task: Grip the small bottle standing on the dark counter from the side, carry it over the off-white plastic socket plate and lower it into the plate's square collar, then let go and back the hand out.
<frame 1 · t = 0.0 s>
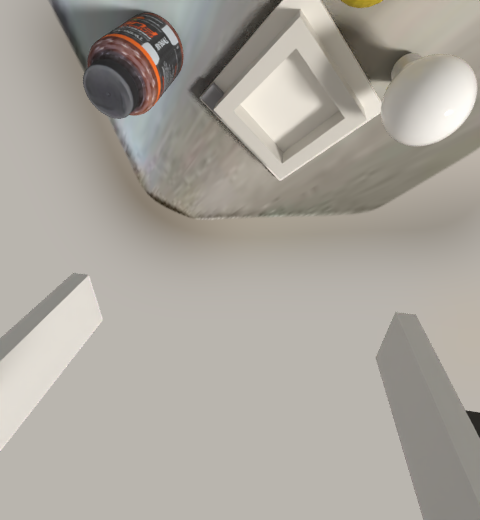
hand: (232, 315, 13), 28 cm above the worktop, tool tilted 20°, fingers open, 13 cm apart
socket: (289, 99, 31), on the worktop
lightbulb: (405, 66, 28), on the worktop
supplement bottle: (157, 47, 30), on the worktop
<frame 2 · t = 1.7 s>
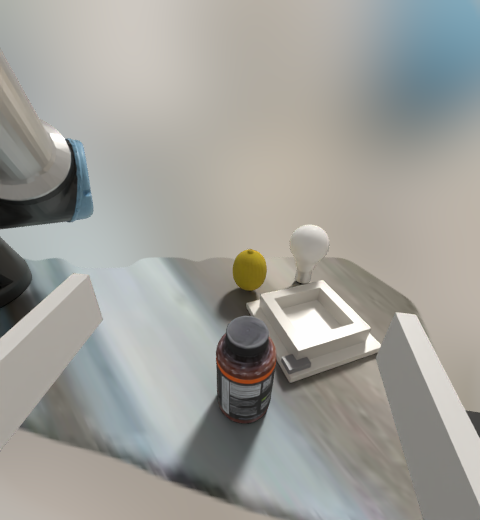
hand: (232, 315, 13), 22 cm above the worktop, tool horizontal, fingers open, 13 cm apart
socket: (308, 327, 42), on the worktop
lightbulb: (301, 282, 52), on the worktop
supplement bottle: (243, 400, 33), on the worktop
lemon: (248, 290, 49), on the worktop
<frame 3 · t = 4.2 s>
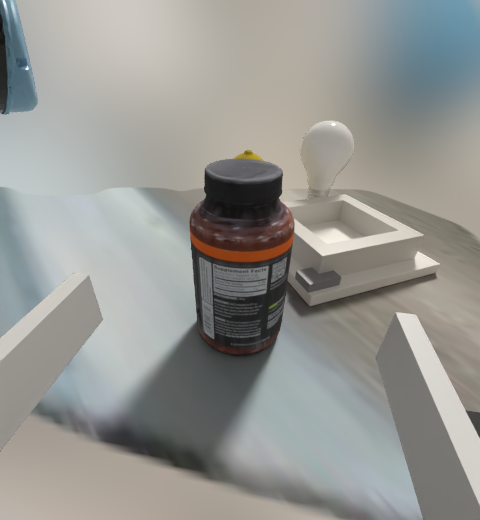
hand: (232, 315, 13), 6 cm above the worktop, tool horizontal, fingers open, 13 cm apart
socket: (329, 249, 30), on the worktop
lightbulb: (315, 209, 40), on the worktop
supplement bottle: (238, 327, 21), on the worktop
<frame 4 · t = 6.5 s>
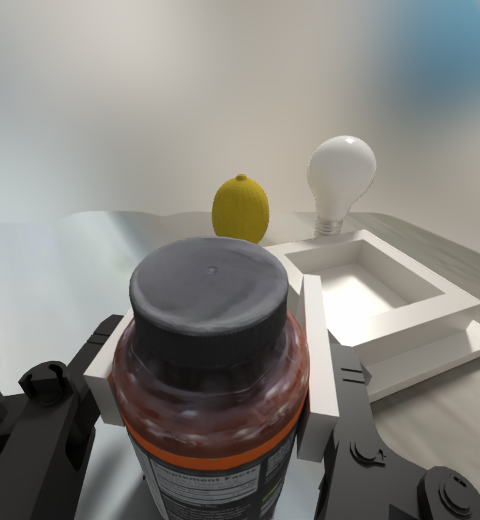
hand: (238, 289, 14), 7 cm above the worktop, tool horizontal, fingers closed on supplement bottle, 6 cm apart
socket: (346, 307, 23), on the worktop
lightbulb: (324, 242, 33), on the worktop
supplement bottle: (218, 468, 14), on the worktop, touching gripper
lemon: (239, 252, 30), on the worktop
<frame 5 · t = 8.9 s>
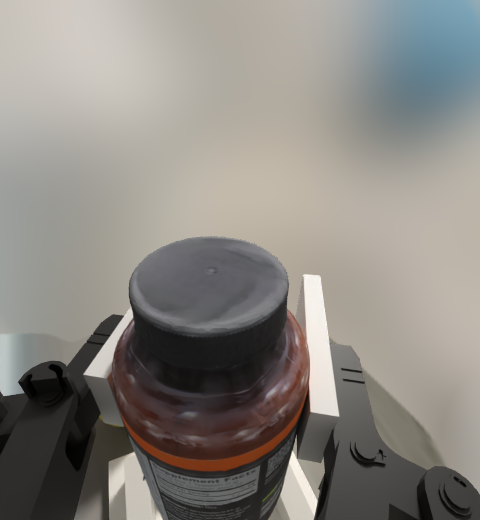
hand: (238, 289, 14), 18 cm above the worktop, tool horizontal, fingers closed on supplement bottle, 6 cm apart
supplement bottle: (218, 469, 14), point 11 cm above the worktop, touching gripper
when the fingers open (9 cm above the worktop, at t = 11.3 s): supplement bottle drops 1 cm, resting on socket.
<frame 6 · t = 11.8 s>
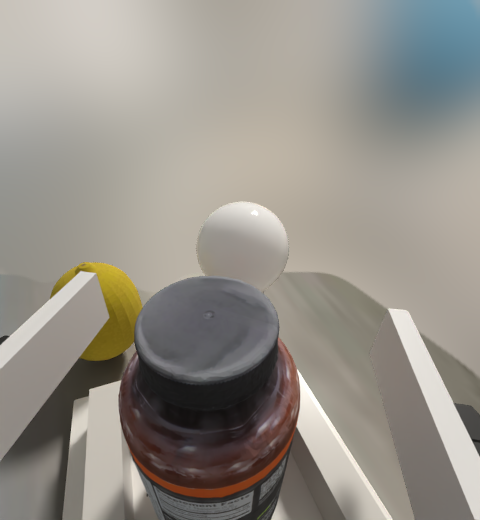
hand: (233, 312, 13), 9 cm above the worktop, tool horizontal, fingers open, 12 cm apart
socket: (219, 488, 15), on the worktop
lightbulb: (239, 330, 24), on the worktop
supplement bottle: (217, 482, 14), point 1 cm above the worktop, touching socket
lemon: (112, 353, 22), on the worktop
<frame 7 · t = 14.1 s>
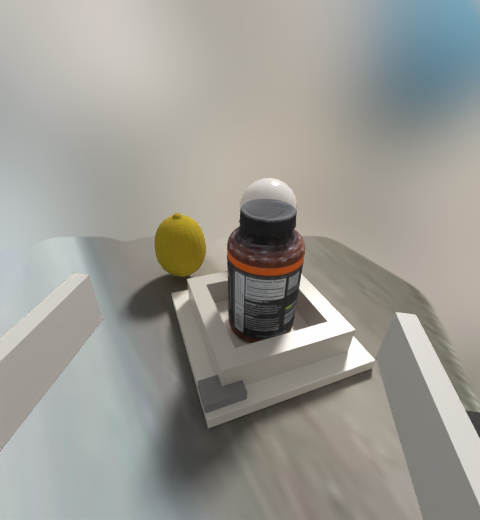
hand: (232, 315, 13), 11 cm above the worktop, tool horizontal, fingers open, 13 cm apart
socket: (260, 330, 27), on the worktop
lightbulb: (263, 266, 37), on the worktop
supplement bottle: (259, 324, 27), point 1 cm above the worktop, touching socket
lemon: (183, 277, 34), on the worktop
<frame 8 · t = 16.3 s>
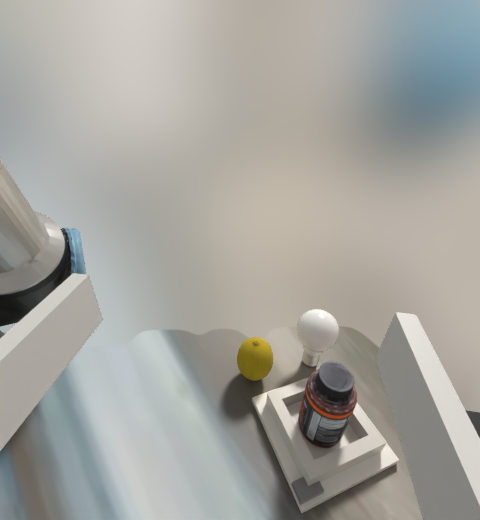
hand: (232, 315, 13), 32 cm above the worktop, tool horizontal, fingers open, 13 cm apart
socket: (318, 429, 40), on the worktop
lightbulb: (309, 363, 49), on the worktop
supplement bottle: (319, 427, 39), point 1 cm above the worktop, touching socket
lemon: (253, 375, 47), on the worktop
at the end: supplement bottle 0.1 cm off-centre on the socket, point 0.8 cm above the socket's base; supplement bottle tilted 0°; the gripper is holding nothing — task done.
